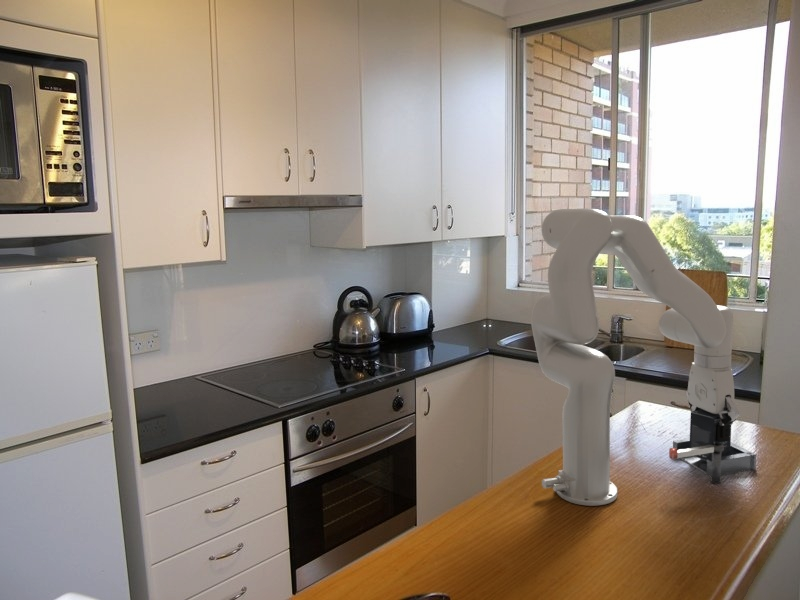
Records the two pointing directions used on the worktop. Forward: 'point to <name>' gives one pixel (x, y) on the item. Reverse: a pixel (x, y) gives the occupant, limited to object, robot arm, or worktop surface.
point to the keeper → (720, 461)
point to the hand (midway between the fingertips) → (710, 434)
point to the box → (705, 432)
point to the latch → (695, 450)
